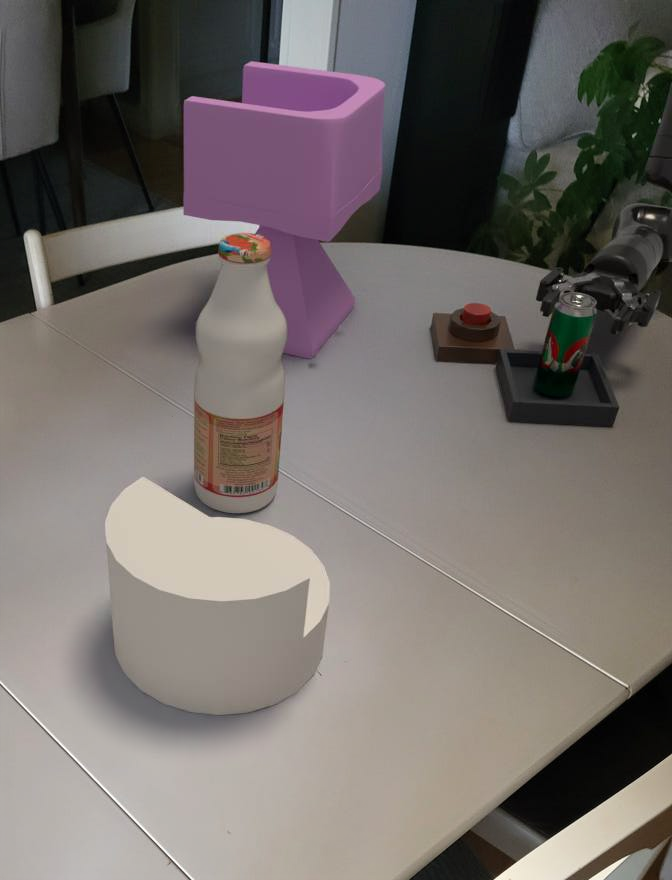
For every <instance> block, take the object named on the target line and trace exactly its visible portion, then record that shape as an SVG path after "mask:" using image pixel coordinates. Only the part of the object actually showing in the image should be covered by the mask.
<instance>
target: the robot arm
mask: <svg viewBox="0 0 672 880" xmlns="http://www.w3.org/2000/svg"><path fill="white" fill-rule="evenodd" d="M663 109H664V110H663V113H662V116H661V120H660V122H659V125H658V129H657V132H656V134H655V138H654V140H653V143H652V146H651V150H650V154H649V157H648V159H647V162H646V165H645V169H644V173H643V178H644V181H645V182H646V183H648V184H649V185H652V186H654V187H657V188H660V189H662V190H665V191H667V192H668V193H669V194H670V195H671V196H672V83H671V84H670V88H669V91H668V95H667V99H666V103H665V107H664V108H663ZM611 231H612V232H611V240H610V241H609V242H608V243H606V244H605V245H604V246H603V247H602V248H600V249H599V250H598V252H597V253H596V254H595V255H594V256H593V257H592V259H591V260H590V261H589V262H588V263H587V265H586V266H585V267H584V268H583V270H582V271H581V273H578V274H575V275H573V276H569V275H565V273H564V271H565V269H564V268H563V267H555V268H554V269H552V270H551V271H550V272H549V273H548V274H546V275H545V276H544V277H542V278H541V279H540V281H539V283H538V284H539V285H538V288H537V292H536V297H535V300H536V301H537V302H540V303H541V304H540V308H539V311H540V312H541V313H542V317H546V318H549V317H551V315H552V311H553V308H554V305H555V303H556V302H557V301H558V300H559V298H560V296H561V293H562V292H563V293H562V294H565V293H571V292H576V293H583V294H587V295H589V296H591V297H593V298H594V299H595V300H596V301H597V305H596V308H597V311H599V312H600V311H601V312H607V313H608V314H609V315H610V317H611V318H612V319H613V322H612V324H611V325H612V326H611V329H610V331H609V332H610V334H611V335H617V334H618V333H619V332H620V333H623V332H625V331H626V330H627V329H628V327H629V326H632V324H633V323H637V326H639V327H641V328H646V327H648V325H650V322H651V320H652V318H653V316H654V314H655V312H656V309H657V307H658V304H659V300H660V298H661V295H662V291H660V290H659V289H652V290H651V291H650V292H646V293H642V292H640V291H641V290H642V289H644V288H645V286H646V284H647V283H648V281H649V279H650V277H651V275H652V272H653V271H654V269H655V268H656V267H657V265H659V263H660V262H662V263H670V262H672V207H669V206H668V207H667V206H662V205H655V204H648V203H644V202H634V203H631V204H629V205H626V206H624V207H623V208H622V209H621V210H620V211H619V213H618V214H617V217H616V218H615V221H614V222H613V227H612V230H611Z"/></svg>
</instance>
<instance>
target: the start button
mask: <svg viewBox="0 0 672 880" xmlns="http://www.w3.org/2000/svg"><path fill="white" fill-rule="evenodd" d="M463 308H464V310H463V315H462V321H463V322H465V323H468V324H471V325H481V326H482V325H486V324H488V323H489V318H490V314H491V312H492V309H491V307H490V306H488V305H487V304H484V303H478V302H470V303H467V304H466V305H464V307H463Z"/></svg>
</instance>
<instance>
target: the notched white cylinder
mask: <svg viewBox="0 0 672 880" xmlns="http://www.w3.org/2000/svg"><path fill="white" fill-rule="evenodd" d="M104 532H105V545H106V557H107V559H106V560H107V571H108V582H109V585H108V586H109V595H110V596H109V598H110V609H111V610H110V611H111V623H112V634H113V646H114V656H115V658H116V660H117V662H118V664H119V666H120V668H121V670H122V672H123V674H124V675H125V676H126V677H127V679H129V680H130V682H132V684H133V685H134V686H135V687H137V689H138V690H140V691H141V692H143V693H145V694H146V695H148V696H150V697H151V698H153V699H155V700H156V701H158V702H159V703H161V704H163V705H166V706H170V707H173V708H176V709H179V710H182V711H185V712H188V713H196V714H204V715H205V714H206V715H214V716H227V715H236V714H248V713H249V714H250V713H252V712H255V711H258V710H261V709H264V708H268V707H271V706H275V705H277V704H279V703H280V702H282V701H284V700H286V699H287V698H289V697H291V696H292V695H294V694H297V692H299V691H300V690H301V689H302V688H303V687H304V685H306V684H307V683H308V682H309V680H311V678H312V677H313V676H314V675H315V673H316V671H317V669H318V667H319V664H320V662H321V660H322V658H323V654H324V645H325V639H326V638H325V636H326V630H327V624H328V623H327V622H328V614H329V606H330V597H331V595H330V592H331V582H330V579H329V576H328V574H327V570H326V567H325V565H324V563H323V562H322V561H321V560H320V559H319V557H318V556H317V555H316V553H315V552H314V551H313V550H312V549H311V548H310V547H309V546H308V545H306V544H304V543H303V542H302V541H301V540H299V539H298V538H296V537H295V536H294V535H292V534H289V533H288V532H286V531H284V530H281V529H279V528H277V527H275V526H272V525H269V524H265V523H262V522H258V521H253V520H251V519H247V518H237V517H233V518H232V517H224V516H214V517H212V516H211V517H210V516H208V515H207V514H205V513H204V512H202V511H201V510H200V509H197V508H195V507H194V506H193V505H191V504H189V503H187V502H186V501H184V500H183V499H181V498H179V497H178V496H175V494H173V493H171V492H169V491H168V490H167V489H164V488H162V487H161V486H159V485H158V484H156V483H154V482H153V481H151V480H149V479H148V478H146V477H144V476H141V477H140V478H138V479H137V480H136V481H134V482H133V483H131V484H130V485H128V486H127V487H125V488H124V489H123V490H122V491H121V492H120V493H119V495H118V496H117V497H116V498H115V500H114V501H113V502H112V503H111V504H110V507H109V510H108V513H107V516H106V518H105V521H104Z"/></svg>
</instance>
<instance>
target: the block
mask: <svg viewBox="0 0 672 880" xmlns="http://www.w3.org/2000/svg"><path fill="white" fill-rule="evenodd" d="M463 310H464V307H463V308H458V309H456V310H454V311H453V312H452V313H444V312H443V313H442V312H433V314H432V318H431V323H430V333H431V338H432V344H433V350H434V356H435V361H436V362H447V363H469V364H473V363H474V364H487V365H488V364H489V365H490V364H491V365H496V363H497V359H498V354H499V350H500V349H507V350H516V348H515V345H514V342H513V338H512V335H511V332H510V328H509V324H508V321H507V318H506V316H505V315H498V314H496V313H494V312H493V311H491V314H490V318H489V323H488V324H486V325H482V326H481V325H471V324H468V323H465V322H463V321H462V315H463Z"/></svg>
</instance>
